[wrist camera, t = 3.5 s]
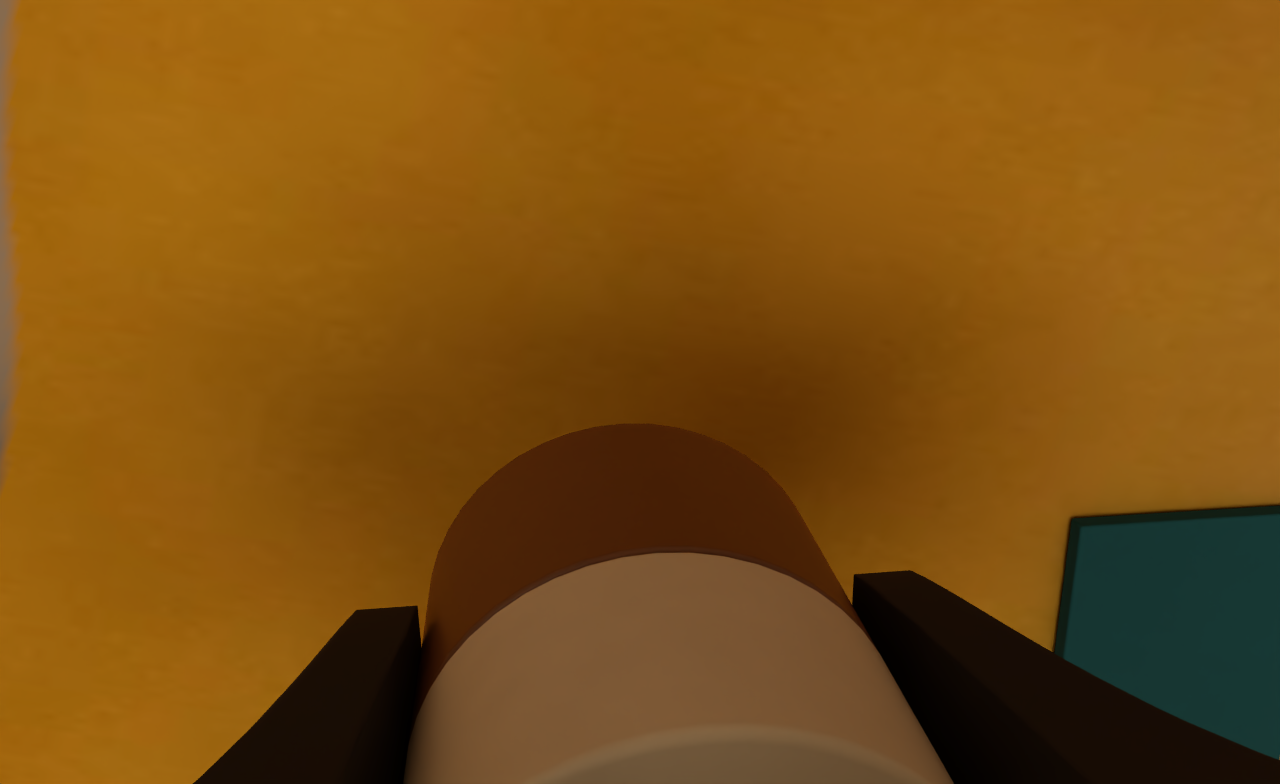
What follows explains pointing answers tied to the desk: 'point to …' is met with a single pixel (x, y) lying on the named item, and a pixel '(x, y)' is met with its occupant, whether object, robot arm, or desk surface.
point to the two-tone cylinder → (648, 631)
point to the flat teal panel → (1181, 615)
